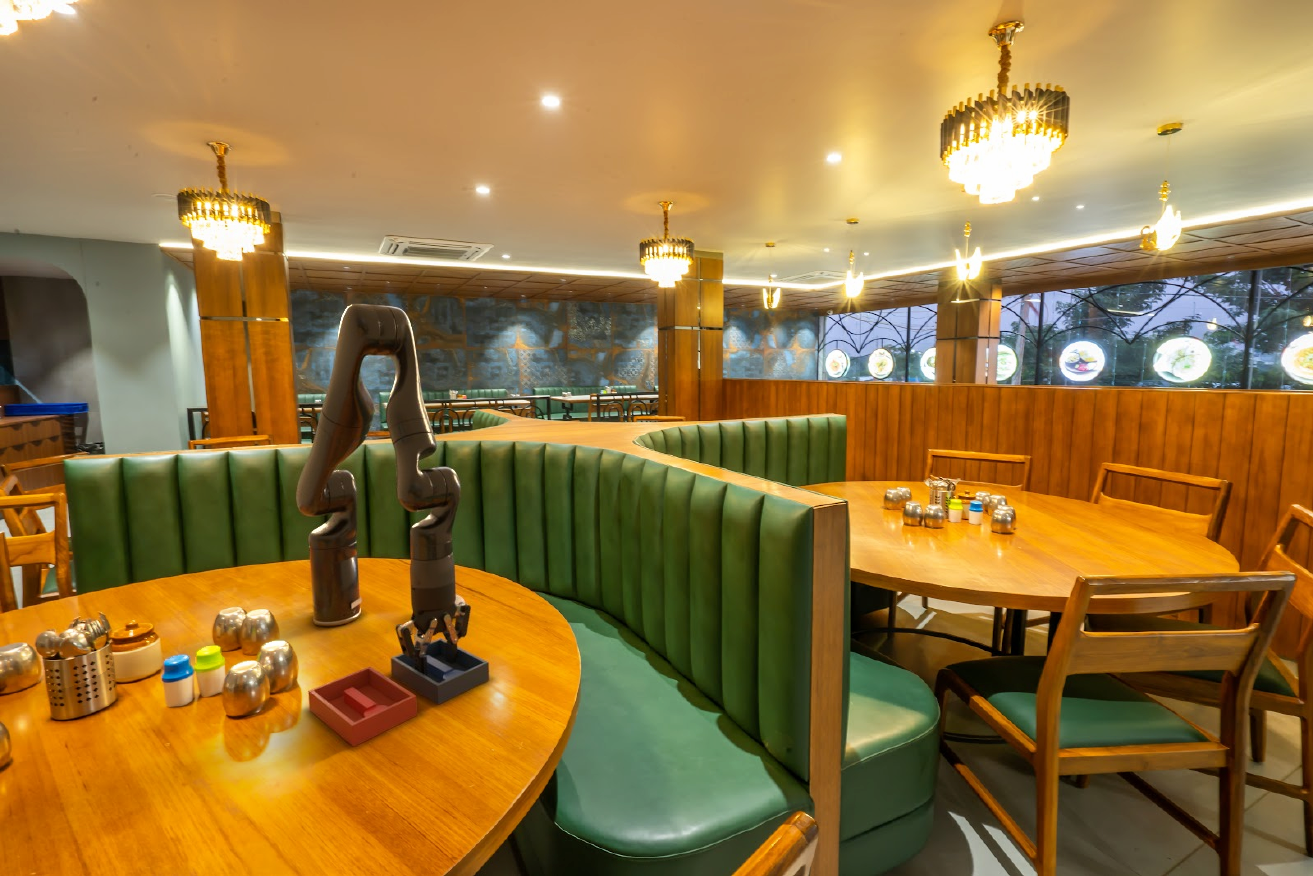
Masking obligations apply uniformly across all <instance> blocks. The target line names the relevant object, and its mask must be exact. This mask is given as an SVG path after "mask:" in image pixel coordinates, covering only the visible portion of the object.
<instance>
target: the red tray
mask: <svg viewBox="0 0 1313 876" xmlns="http://www.w3.org/2000/svg"><path fill="white" fill-rule="evenodd" d="M352 687H354V688H355V689H356V690H358V691H359V692H361V693H362V694H363V695H365V696H366V697H368V698H369V699H370V700H372V701H373V702H375V703H376V705H377V706H378V705H385V706H387V708H385V709H382V710H380V711H378V712H376V713H374V714H372V715H369V716H367V717H365V718H364V716H362V715H361V714H360V713H358V712H357V711H356V710H354V709H353V708H352V707H350V706H349V705H348V704H346V703H345V702H344V692H343V691H344V690H347V689H349V688H352ZM307 692H308V705H309V708H308V709H309V711H310V712H311V713H312V714H313V715H315V716H316V717H317V718H319V719H320V720H321V721H322V722H323V723H324V724H326V726H328V727H329V728H330V729H331V730H333V732H334V733H336V734H337V735H339V736H340V737H341V738H342V739H343V740H345V742H347V743H348V744H349V745H351V747H353V748H355V747H356V746H359V745H360V744H362V743H364V742H367V741H368V740H370V739H373V738H374V737H376V736H379V735H380V734H382V733H385V732H387V731H389V730H390V729H392V728H394V727H397V726H398V725H401V724H404V723H405V722H407V721H409V720H411V719H413V718H415V717H417V716H418V706H417V705H418V704H417V696H416V695H415V694H414V693H412V692H411V691H409V690H407V689H406V688H404V687H403V686H402V685H400V684H398V683H396V682H395V681H393V680H392V679H390V678H389V677H387V676H385V675H384V674H382V673H381V672H379V671H378V670H376V669H375V668H373V667H372V666H368V667H364V668H362V669H360V670H357V671H355V672H352V673H349V674H347V675H345V676H341V677H339V678H337V679H334V680H332V681H330V682H326V683H324V684H322V685H319V686H316V687H314V688H312V689H309V690H308V691H307Z"/></svg>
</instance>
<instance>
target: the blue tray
mask: <svg viewBox="0 0 1313 876" xmlns="http://www.w3.org/2000/svg"><path fill="white" fill-rule="evenodd" d="M445 642H447V640H446V639H445V638H444V639H443V638H442V637H440V638H438V639H435V640H431V643H430V644H429V645H428V648H427V651H426V656H427V655H429V656H431V657H433V658H434V659H436V660H438V661H440V662H442V663H443V664H445V665H447V666H449V667H451V668H452V669H453V670H461V671H463V673H460V674H458V675H456V676H454V677H452V678H450V679H447V680H445V681H442V680H440V679H438V678H437V677H435V676H433V675H432V674H430V673H428V674H427V675H426V676H425V675H424V674H422V673H420V672H418V671H417V670H415V664H414V658H410V657H409V656H407V655H405V654H403V653H400V654H397V655H395V656H391V657H390V669H391V671H390V672H391V676H392V677H393V678H395V679H397V680H398V681H400V682H401V683H403V684H404V685H406V686H407V687H409V688H410V689H412V690H414V691H415V692H417V693H419V694H420V695H422V696H423V697H424V698H427V699H428V700H429V701H432V702H433V703H435V704H436V705H438V706H439V705H442V704H443V703H445V702H447V701H450V700H452V699H453V698H456V697H458V696H459V695H462V694H463V693H466V692H467V691H470V690H471V689H473V688H476V687H478V686H480V685H482V684H484V683H486V682H488V681H490V663H489V662H488V661H487V660H485V659H483V658H482V657H479V656H477V655H475V654H473V653H471V652H469V651H467V650H465V649H463V648H461V647H459V646H457V654H458V656H457V659H456V662H455V663H453V664H450V663H448V662H447V661H446V657H445Z"/></svg>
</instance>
